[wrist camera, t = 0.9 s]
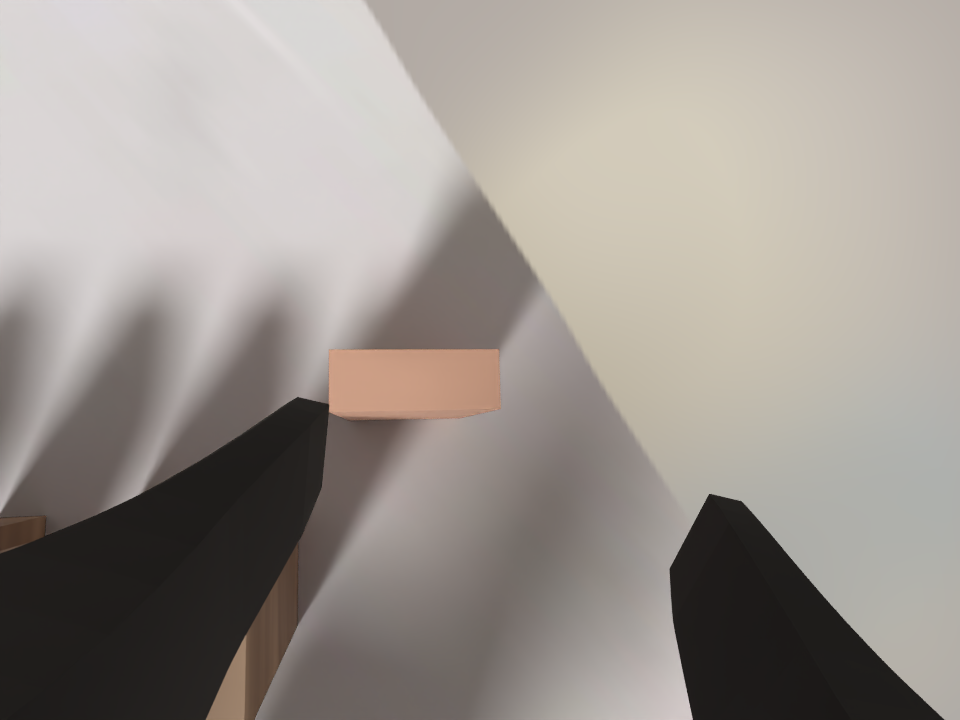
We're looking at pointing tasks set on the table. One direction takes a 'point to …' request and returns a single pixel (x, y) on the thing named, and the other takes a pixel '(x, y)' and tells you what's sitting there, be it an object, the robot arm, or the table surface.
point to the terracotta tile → (413, 383)
